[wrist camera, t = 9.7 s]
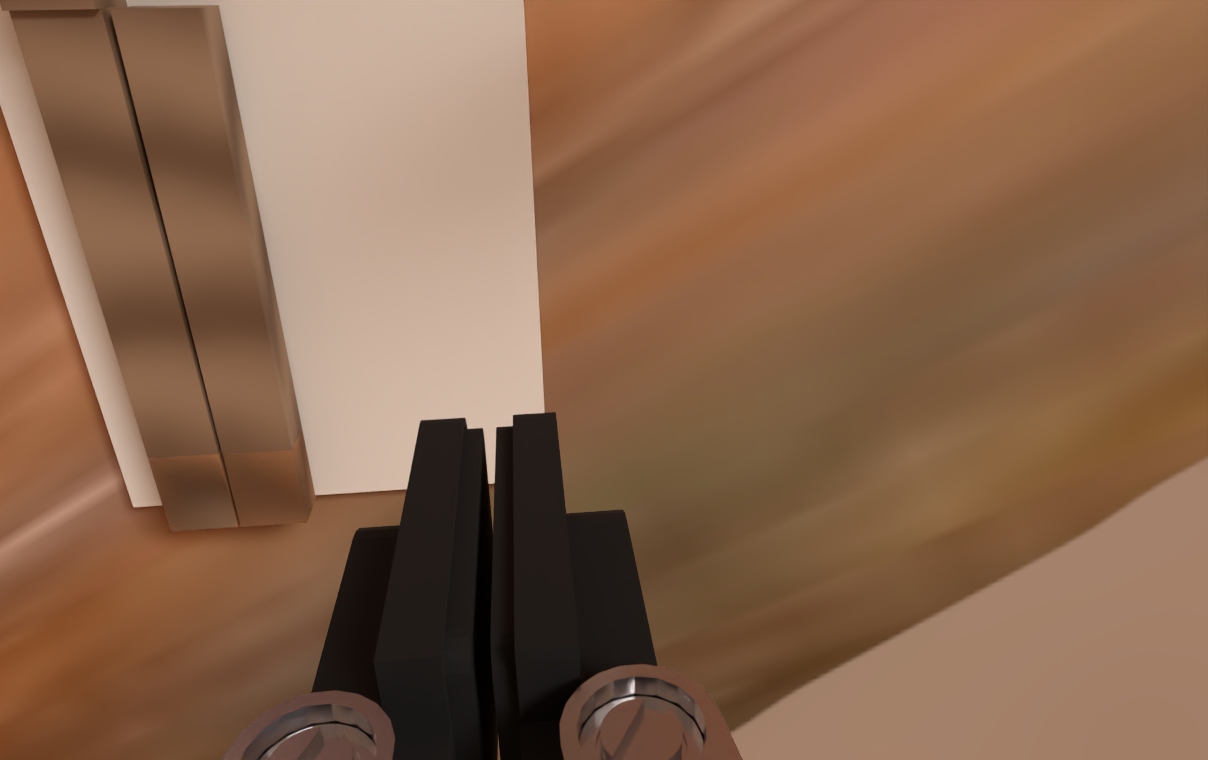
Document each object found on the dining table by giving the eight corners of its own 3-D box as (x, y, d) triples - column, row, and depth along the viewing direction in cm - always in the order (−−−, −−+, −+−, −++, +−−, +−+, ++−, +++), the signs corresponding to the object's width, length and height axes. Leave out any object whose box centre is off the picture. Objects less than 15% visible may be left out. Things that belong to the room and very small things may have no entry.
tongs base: (-2, -139, 28) (-56, -150, 25) (90, -140, 28) (47, -150, 26) (187, 503, 40) (164, 542, 37) (250, 499, 40) (232, 537, 38)
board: (-68, -153, 28) (-87, -157, 27) (515, -154, 30) (515, -157, 29) (141, 495, 41) (133, 507, 40) (547, 468, 42) (547, 479, 41)
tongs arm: (133, 6, 30) (109, 8, 28) (218, 5, 30) (200, 7, 29) (252, 502, 40) (240, 527, 38) (315, 498, 40) (306, 522, 39)
